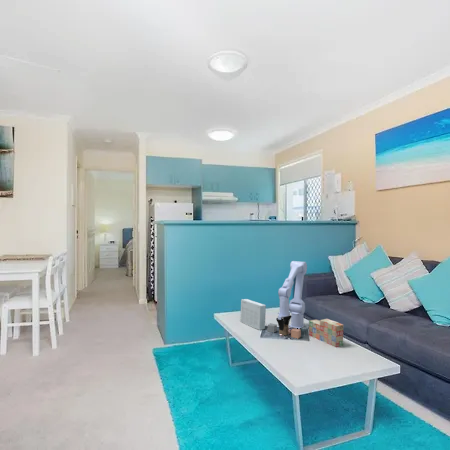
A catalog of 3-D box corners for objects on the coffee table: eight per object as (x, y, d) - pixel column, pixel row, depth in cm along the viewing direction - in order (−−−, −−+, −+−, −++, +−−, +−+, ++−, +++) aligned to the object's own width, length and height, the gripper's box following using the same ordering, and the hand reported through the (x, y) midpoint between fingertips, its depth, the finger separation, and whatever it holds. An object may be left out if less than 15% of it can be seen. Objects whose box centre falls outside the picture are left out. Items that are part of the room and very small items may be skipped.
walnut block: (281, 332, 202) (282, 324, 202) (288, 334, 199) (288, 325, 199) (278, 334, 198) (279, 325, 198) (285, 336, 195) (285, 327, 195)
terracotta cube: (293, 335, 197) (293, 328, 197) (300, 336, 195) (300, 329, 195) (291, 337, 194) (291, 330, 194) (298, 339, 191) (298, 331, 191)
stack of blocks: (308, 335, 198) (308, 315, 197) (315, 333, 201) (316, 314, 201) (335, 347, 179) (336, 325, 179) (343, 345, 182) (343, 324, 182)
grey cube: (270, 330, 206) (270, 323, 206) (276, 331, 204) (276, 324, 204) (267, 332, 202) (267, 325, 202) (273, 333, 200) (273, 326, 200)
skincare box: (265, 329, 208) (266, 304, 208) (259, 330, 205) (260, 306, 205) (246, 320, 225) (246, 298, 225) (239, 321, 222) (240, 299, 222)
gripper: (283, 303, 207) (282, 324, 207) (273, 308, 195) (273, 330, 195) (293, 305, 203) (292, 326, 203) (284, 310, 191) (283, 332, 191)
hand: (283, 328), depth 199 cm, fingers open, 7 cm apart
